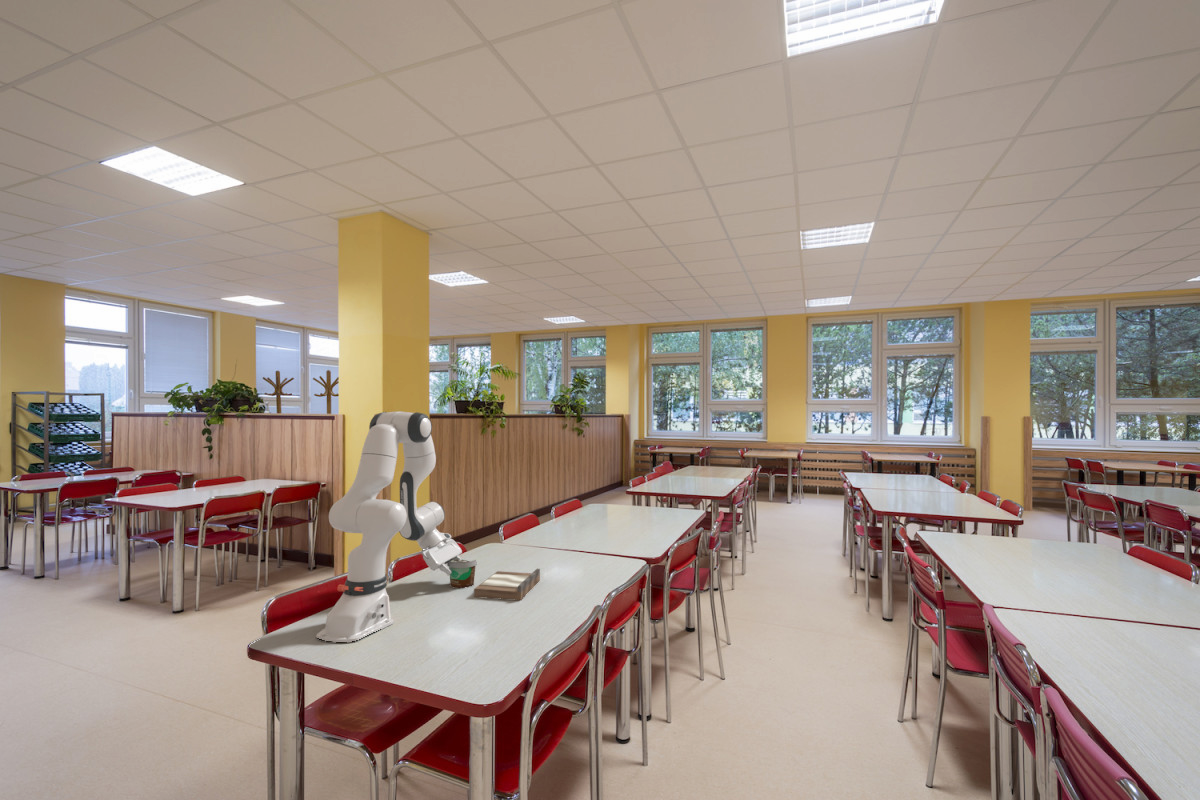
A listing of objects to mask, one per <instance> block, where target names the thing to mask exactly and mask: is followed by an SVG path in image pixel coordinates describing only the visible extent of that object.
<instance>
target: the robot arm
mask: <svg viewBox="0 0 1200 800" xmlns="http://www.w3.org/2000/svg"><path fill="white" fill-rule="evenodd" d="M368 427H369V430H368V433H367V435H366V437H365V441H364V443H363V447H362V451H361V455H360V459H359V464H358V469H357V473H356V474H355V475H356V476H355V478H354V480H353V483H352V484H351V486H350V488H349V489H348V491H347V492H346V493H345V494H344V495H343V496H342V497H341V498H340V499H338V500H337V501H336V502H334V503H333V505H332V506H331V508H329V512H328V521H329V524H330V526H331V528H333V529H335V530H337V531H341V532H344V533H349V534H362V539H361V542H360V544H359V545H358V546H356V547H354V548H353V549H352V550H351V551H349V554H348V556H347V578H346V580H345V582H344V584H342V583H341V584H338V586H337V591H338V592H343V593H342V595H341V596H340V598H339V599H338V600H337V601H336V603H335V605H334V606H333V607H332V608H331V610H330V611H329V612H328V614H327V617H326V622H325V627H324V628H322V629H321V630H320V631H318V632H317V633H316V637H317V638H319V639H322V640H325V641H324V642H326V641H333V642H332V643H336V642H347V643H353V642H352V641H355V642H357V641H356V640H358V641H360V640H359V639H361V638H363V637H365V636H367V635H369V634H371V633H373V632H375V633H376V631H377V632H378V630H379V631H381V630H383V629H386V628H387V627H389V626H391V625H393V624H394V619H393V618H392V617H391V608H390V607H391V605H390V597H389V594H388V593H387V589H386V587H387V586H388V584H387V583H388V576H387V574H386V568H387V567H386V565H387V564H386V562H387V552H388V548H389V545H390V543H391V541H392V539H393V538H394V536H395V535H396V534H398V533H399V534H400V536H401V537H402V538H403V539H405V540H408V541H412V542H413V541H414V542H415V541H416V542H417V544H418V546H419V547H420V549H421V556H422V559H423V561H425V563H426V565H427V566H428V567H429V569H430V570H431V571H436V570H438V569H439V570H440V571H441V572H444V573H445V575H446V576H449V577H450V574H451V573H452V572H453V571H452V570H451V569H449V567H448V566H447V563H448V561H449V560H462V558H461V556H460V555H462V553H463V550H462V548H461V547H460V546H459V544H458V543H457V542H456V541H455V540H454V539H453V538H452V535H451V534H450V533H444V532H440V531H439V530H438V529H437V526H439V525H441V524H443V523H442V522H444V520H445V518H446V513H445V509H444V508H443V506H442V505H441V504H440V503H439V502H436V501H429V502H428V503H425V504H424V505H420V506H418V507H417V492H418V489H419V487H420V486H421V484H422V483H423V482H424V481H425V479H427V477H428V476H429V475H430V474H431V473H432V472H433V471H434V469H435V467H436V463H437V462H436V461H437V455H436V451H435V444H434V441H433V437H432V430H433V424H432V420H431V419H430V417H429V416H428V415H427V414H425V413H421V412H408V411H402V410H401V411H399V410H398V411H389V412H387V411H384V412H383V411H382V412H379V413H376V414H375V415H374V416H373V417H372V418H371V419H370V422H369V426H368ZM399 444H402V450H403V458H404V465H403V471H402V473H401V476H400V478H399V502H398V501H393V500H390V499H380V498H379V499H378V498H377V497H378V495H379V493H380V492H381V491H382V490H383V489H384V488H386V487H388V486H390V485H391V484H392V482H393V480H394V478H395V477H394V475H395V470H396V466H397V460H398V455H399V454H398V453H399ZM380 629H381V630H380ZM373 634H374V633H373ZM371 635H372V634H371ZM369 636H370V635H369ZM316 637H315V638H316ZM367 637H368V636H367ZM317 638H316V639H317ZM365 638H366V637H365ZM319 639H318V640H319ZM363 639H364V638H363ZM361 640H362V639H361Z"/></svg>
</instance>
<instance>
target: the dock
mask: <svg viewBox="0 0 1200 800" xmlns="http://www.w3.org/2000/svg"><path fill="white" fill-rule="evenodd" d="M539 581H540V582H541V568H536V569H535V570H534V571H533V572H532V573H531V572H517V571H516V572H515V571H502V570H501V571H500V570H499V571H498V570H497V571H495V572H494V573H493V574H492V575H490V576H489V577H488V578H486V579H485V580H484V581H482V582H481V583H480V584H478V585H477V586H475V587H474V588H473V597H474V598H479V597H487V598H486V599H493V598H501V599H500V600H506V599H515V600H514V601H520V600H521V601H522V600H523V599H524V598H525V597H526V596H527V595H528V594H529V593H530V592H531V591H532V590H533V589H534V588H535V587H536V586H537V585H538V584H539V583H540V582H539ZM538 582H539V583H538ZM537 583H538V584H537ZM536 584H537V585H536ZM535 585H536V586H535ZM534 586H535V587H534ZM533 587H534V588H533ZM532 588H533V589H532ZM531 589H532V590H531ZM530 590H531V591H530ZM529 591H530V592H529ZM528 592H529V593H528ZM527 593H528V594H527ZM526 594H527V595H526ZM525 595H526V596H525ZM524 596H525V597H524ZM523 597H524V598H523Z"/></svg>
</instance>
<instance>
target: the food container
mask: <svg viewBox="0 0 1200 800" xmlns="http://www.w3.org/2000/svg"><path fill="white" fill-rule="evenodd" d="M477 565H478V563H477V559H473V560H465V559H461V560H449V561H448V563H447V564H446V567H447V568H449V569H451V570H452V571H453V572H452V573H451V574H450V575H449V585H450V587H451V588H453V587H454V589H466V588H465V587H467V588H470V587H469V586H471V587H473V586H474V584H475V573H476V566H477ZM472 585H473V586H472Z"/></svg>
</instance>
